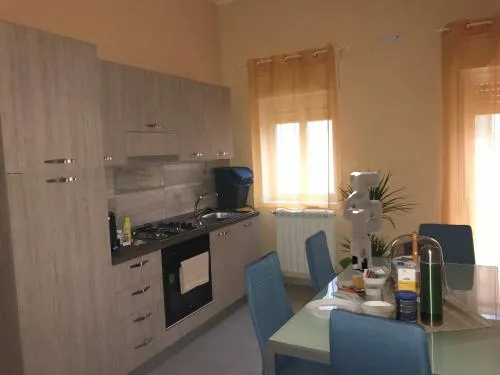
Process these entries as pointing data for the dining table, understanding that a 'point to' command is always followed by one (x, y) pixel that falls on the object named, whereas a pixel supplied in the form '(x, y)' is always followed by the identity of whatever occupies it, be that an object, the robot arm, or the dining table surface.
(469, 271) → the dining table surface
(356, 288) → the base plate
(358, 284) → the orange cube
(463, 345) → the dining table surface
